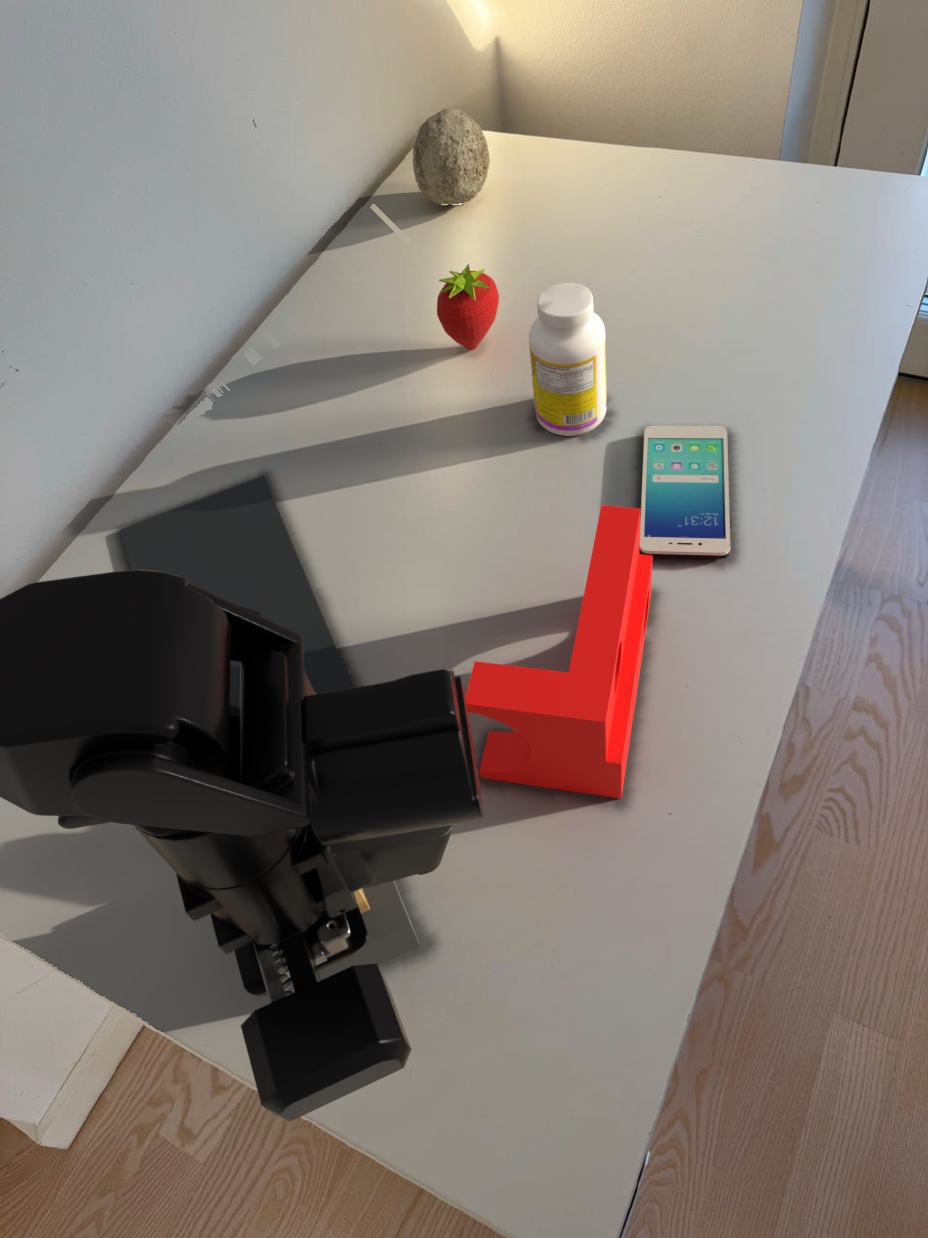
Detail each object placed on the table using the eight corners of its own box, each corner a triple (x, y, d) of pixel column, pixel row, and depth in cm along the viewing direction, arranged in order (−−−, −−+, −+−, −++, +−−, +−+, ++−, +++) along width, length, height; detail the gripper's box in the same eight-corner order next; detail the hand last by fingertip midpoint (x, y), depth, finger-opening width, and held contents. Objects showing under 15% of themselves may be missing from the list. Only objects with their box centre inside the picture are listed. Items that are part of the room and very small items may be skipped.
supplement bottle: (559, 382, 96) (553, 266, 86) (619, 404, 93) (620, 286, 83) (521, 425, 93) (510, 310, 83) (582, 448, 91) (578, 332, 80)
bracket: (622, 724, 61) (463, 703, 64) (621, 798, 70) (480, 778, 72) (654, 509, 72) (517, 498, 74) (650, 596, 80) (526, 583, 82)
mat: (406, 813, 71) (405, 811, 71) (219, 895, 69) (218, 893, 69) (265, 478, 93) (263, 475, 93) (121, 532, 91) (119, 529, 91)
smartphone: (728, 425, 89) (732, 553, 80) (727, 432, 89) (731, 560, 81) (643, 424, 90) (638, 551, 81) (643, 431, 91) (637, 558, 82)
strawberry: (512, 327, 102) (504, 240, 94) (489, 375, 98) (478, 288, 90) (459, 321, 104) (446, 235, 96) (434, 368, 100) (418, 282, 92)
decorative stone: (479, 225, 114) (469, 140, 106) (410, 221, 116) (395, 137, 108) (503, 176, 119) (495, 92, 111) (436, 173, 122) (424, 90, 114)
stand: (420, 946, 65) (410, 925, 62) (291, 1005, 64) (274, 986, 61) (375, 831, 70) (364, 806, 67) (255, 883, 69) (238, 860, 66)
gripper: (507, 947, 36) (535, 1053, 48) (346, 586, 47) (402, 748, 59) (212, 1083, 34) (319, 1156, 47) (117, 677, 45) (224, 824, 58)
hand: (322, 948), depth 53 cm, fingers closed
